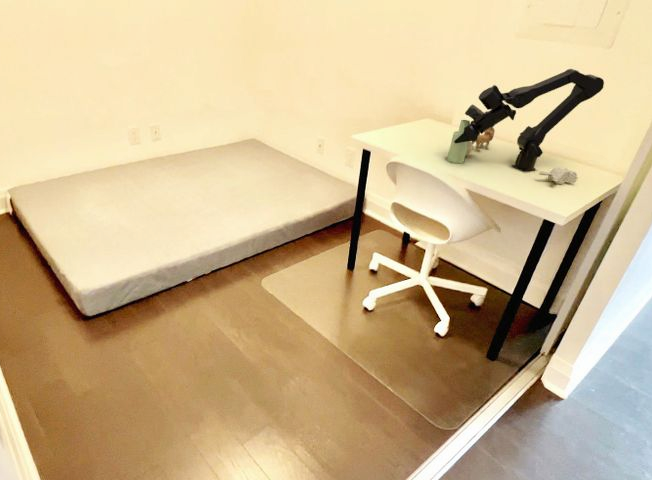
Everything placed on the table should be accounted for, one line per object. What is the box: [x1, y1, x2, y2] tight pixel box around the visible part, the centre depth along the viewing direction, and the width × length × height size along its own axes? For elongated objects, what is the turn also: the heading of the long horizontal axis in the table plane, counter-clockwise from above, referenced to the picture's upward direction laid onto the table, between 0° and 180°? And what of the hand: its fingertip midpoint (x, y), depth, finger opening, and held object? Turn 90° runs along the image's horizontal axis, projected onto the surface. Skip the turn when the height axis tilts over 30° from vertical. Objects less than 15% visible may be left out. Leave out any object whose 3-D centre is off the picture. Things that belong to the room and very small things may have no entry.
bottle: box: [446, 119, 471, 164], centre depth 175 cm, size 7×7×16 cm
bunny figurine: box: [538, 166, 579, 185], centre depth 162 cm, size 10×5×15 cm
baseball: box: [465, 141, 474, 157], centre depth 183 cm, size 7×7×7 cm
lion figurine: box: [471, 126, 496, 152], centre depth 190 cm, size 15×5×9 cm, turn 129°
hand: (457, 140), depth 175 cm, fingers closed on bottle, 7 cm apart
